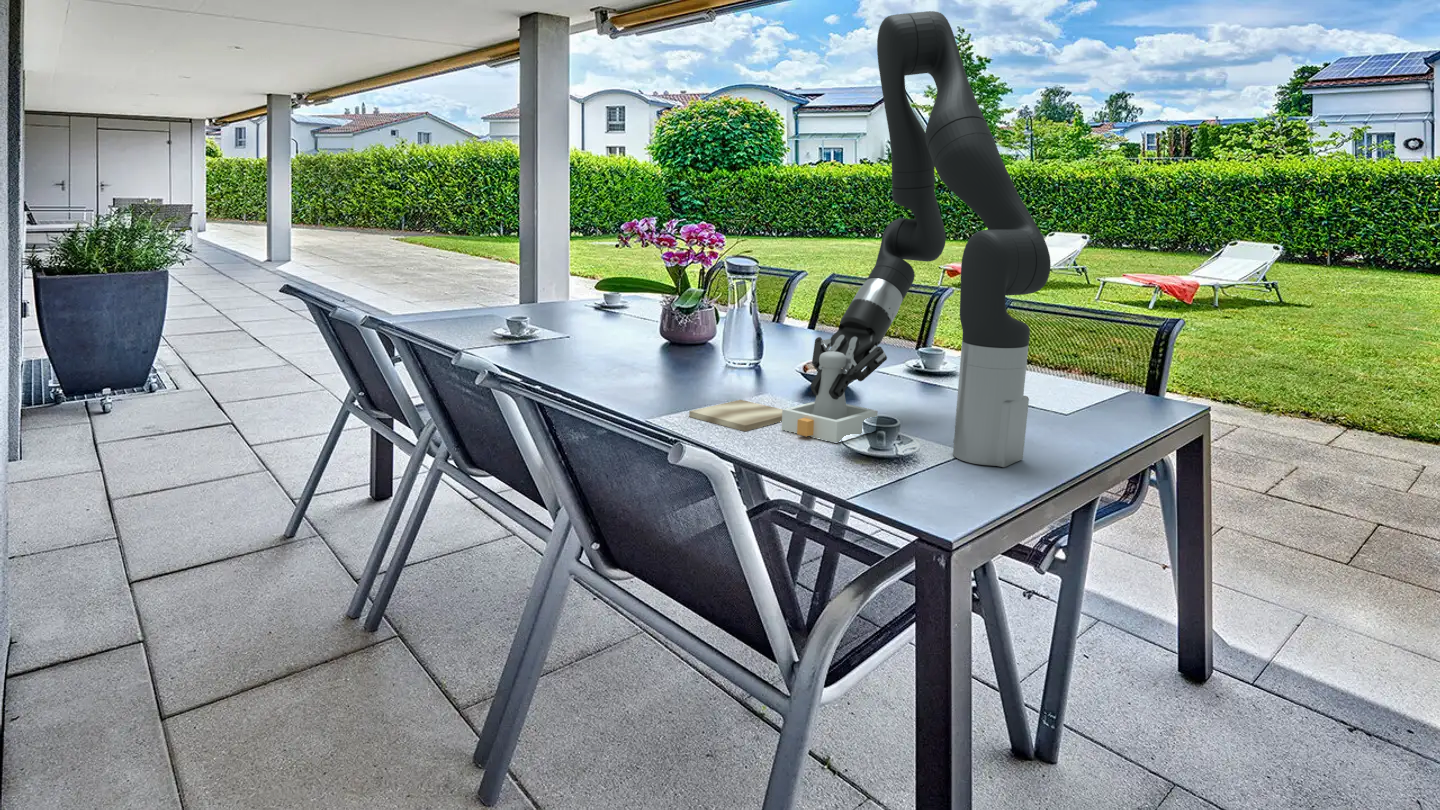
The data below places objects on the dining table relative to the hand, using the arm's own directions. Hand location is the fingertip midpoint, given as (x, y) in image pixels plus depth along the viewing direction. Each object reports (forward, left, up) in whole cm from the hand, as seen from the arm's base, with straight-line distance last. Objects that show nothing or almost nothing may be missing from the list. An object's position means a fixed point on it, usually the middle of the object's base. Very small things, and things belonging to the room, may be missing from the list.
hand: (823, 394), depth 143 cm
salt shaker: (0, -2, -7) cm, 7 cm away
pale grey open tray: (0, -2, -6) cm, 7 cm away
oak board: (+16, +2, -6) cm, 17 cm away
